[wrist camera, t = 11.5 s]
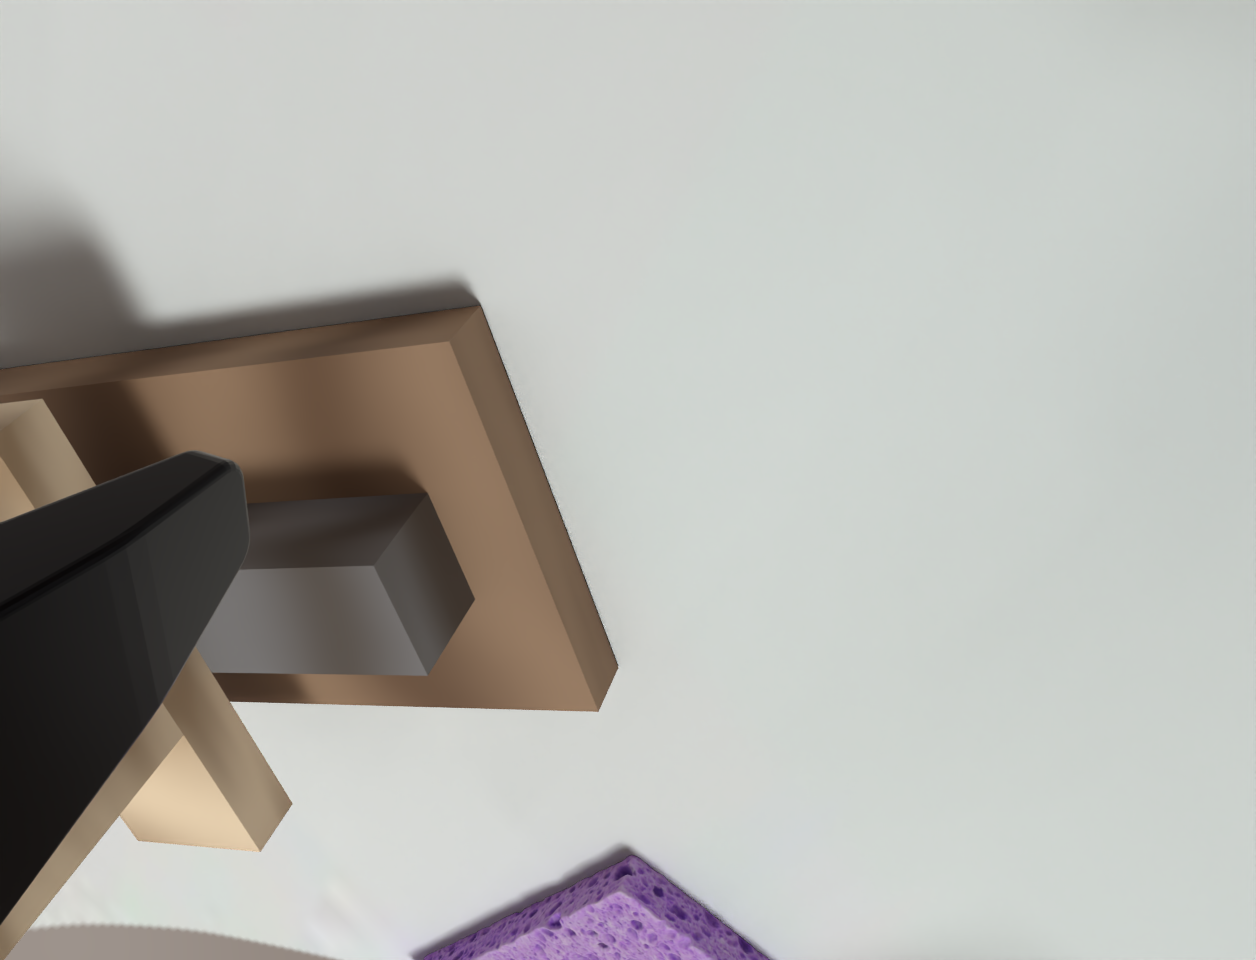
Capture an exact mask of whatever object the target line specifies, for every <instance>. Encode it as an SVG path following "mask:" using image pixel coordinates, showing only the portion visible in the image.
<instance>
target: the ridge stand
mask: <svg viewBox="0 0 1256 960" xmlns="http://www.w3.org/2000/svg"><path fill="white" fill-rule="evenodd" d="M36 399H43V400H44V402H45V404H46V405H47V407H48V409H49V410H50V412H51V413H52V415H53V417H54V418H55V420H56V422H57V423H58V425H59V426H60V428H61V430H62V431H63V433H64V434H65V436H66V438H67V439H68V441H69V443H70V444H71V446H72V447H73V449H74V451H75V452H76V454H77V456H78V457H79V459H80V460H81V462H82V464H83V465H84V467H85V468H86V470H87V472H88V473H89V475H90V477H91V478H92V480H93V481H94V483H95V485H99V484H102V483H104V482H107V481H110V480H112V479H115V478H117V477H120V476H123V475H125V474H128V473H130V472H133V471H136V470H138V469H141V468H143V467H146V466H149V465H151V464H154V463H156V462H159V461H162V460H164V459H167V458H169V457H172V456H175V455H177V454H180V453H183V452H186V451H191V450H197V451H203V452H206V453H209V454H213V455H216V456H219V457H223V458H226V459H229V460H232V461H234V462H235V463H237V464H238V465H239V467H240V468H241V470H242V472H243V477H244V484H245V492H246V501H247V509H248V517H249V526H250V545H249V549H248V553H247V555H246V558H245V560H244V562H243V564H242V566H241V568H240V570H239V571H238V573H237V575H236V577H235V578H234V580H233V582H232V583H231V585H230V587H229V589H228V590H227V592H226V594H225V596H224V597H223V599H222V601H221V603H220V604H219V606H218V608H217V610H216V611H215V613H214V615H213V617H212V618H211V620H210V622H209V624H208V625H207V627H206V629H205V631H204V632H203V634H202V636H201V637H200V639H199V641H198V643H197V644H196V646H195V647H196V648H197V650H198V651H199V653H200V655H201V656H202V658H203V660H204V661H205V663H206V664H207V666H208V668H209V669H210V671H211V672H212V674H213V676H214V677H215V679H216V681H217V682H218V684H219V685H220V687H221V689H222V690H223V692H224V694H225V695H226V697H227V698H228V700H229V701H231V702H267V703H303V704H340V705H376V706H413V707H449V708H486V709H522V710H558V711H595V712H598V711H599V709H600V707H601V705H602V702H603V700H604V698H605V696H606V694H607V691H608V689H609V687H610V685H611V683H612V680H613V678H614V676H615V674H616V671H617V669H618V666H617V663H616V660H615V658H614V655H613V653H612V650H611V647H610V645H609V642H608V639H607V637H606V634H605V632H604V629H603V626H602V624H601V621H600V618H599V616H598V613H597V611H596V608H595V605H594V603H593V600H592V597H591V595H590V592H589V590H588V587H587V584H586V582H585V579H584V576H583V574H582V571H581V569H580V566H579V563H578V561H577V558H576V555H575V553H574V550H573V548H572V545H571V542H570V540H569V537H568V534H567V532H566V529H565V527H564V524H563V521H562V519H561V516H560V513H559V511H558V508H557V506H556V503H555V500H554V498H553V495H552V492H551V490H550V487H549V485H548V482H547V479H546V477H545V474H544V471H543V469H542V466H541V464H540V461H539V458H538V456H537V453H536V450H535V448H534V445H533V443H532V440H531V437H530V435H529V432H528V429H527V427H526V424H525V422H524V419H523V416H522V414H521V411H520V408H519V406H518V403H517V401H516V398H515V395H514V393H513V390H512V387H511V385H510V382H509V380H508V377H507V374H506V372H505V369H504V366H503V364H502V361H501V359H500V356H499V353H498V351H497V348H496V345H495V343H494V340H493V338H492V335H491V332H490V330H489V327H488V324H487V322H486V319H485V317H484V314H483V311H482V309H481V306H473V307H465V308H458V309H450V310H443V311H435V312H428V313H420V314H413V315H405V316H398V317H390V318H383V319H375V320H368V321H360V322H353V323H345V324H337V325H330V326H322V327H315V328H307V329H300V330H292V331H285V332H277V333H270V334H262V335H255V336H247V337H240V338H232V339H225V340H217V341H210V342H202V343H195V344H187V345H179V346H172V347H164V348H157V349H149V350H142V351H134V352H127V353H119V354H112V355H104V356H97V357H89V358H82V359H74V360H67V361H59V362H52V363H44V364H37V365H29V366H21V367H14V368H6V369H0V404H2V403H10V402H19V401H27V400H36Z"/></svg>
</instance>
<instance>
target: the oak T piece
mask: <svg viewBox="0 0 1256 960" xmlns="http://www.w3.org/2000/svg"><path fill="white" fill-rule="evenodd" d="M94 486H96V485H95V483H94V481H93V480H92V478H91V477H90V475H89V473H88V472H87V470H86V468H85V467H84V465H83V464H82V462H81V460H80V459H79V457H78V456H77V454H76V452H75V451H74V449H73V447H72V446H71V444H70V443H69V441H68V439H67V438H66V436H65V434H64V433H63V431H62V430H61V428H60V426H59V425H58V423H57V422H56V420H55V418H54V417H53V415H52V413H51V412H50V410H49V409H48V407H47V405H46V404H45V402H44V400H43V399H36V400H27V401H19V402H10V403H2V404H0V522H3V521H5V520H8V519H10V518H13V517H16V516H18V515H21V514H23V513H26V512H29V511H31V510H34V509H36V508H39V507H42V506H44V505H47V504H50V503H52V502H55V501H57V500H60V499H63V498H65V497H68V496H70V495H73V494H76V493H78V492H81V491H83V490H86V489H89V488H91V487H94ZM291 805H292V802H291V800H290V799H289V797H288V796H287V794H286V792H285V791H284V789H283V787H282V786H281V784H280V783H279V781H278V779H277V778H276V776H275V774H274V773H273V771H272V770H271V768H270V766H269V765H268V763H267V762H266V760H265V758H264V757H263V755H262V753H261V752H260V750H259V749H258V747H257V745H256V744H255V742H254V740H253V739H252V737H251V736H250V734H249V732H248V731H247V729H246V728H245V726H244V724H243V723H242V721H241V719H240V718H239V716H238V715H237V713H236V711H235V710H234V708H233V706H232V705H231V703H230V702H229V700H228V698H227V697H226V695H225V694H224V692H223V690H222V689H221V687H220V685H219V684H218V682H217V681H216V679H215V677H214V676H213V674H212V672H211V671H210V669H209V668H208V666H207V664H206V663H205V661H204V660H203V658H202V656H201V655H200V653H199V651H198V650H197V648H196V647H195V648H194V650H193V651H192V653H191V655H190V657H189V658H188V660H187V662H186V664H185V665H184V667H183V669H182V671H181V672H180V674H179V676H178V678H177V679H176V681H175V683H174V684H173V686H172V688H171V689H170V691H169V693H168V694H167V696H166V697H165V699H164V701H163V702H162V704H161V706H160V707H159V709H158V710H157V711H156V713H155V714H154V716H153V717H152V719H151V720H150V722H149V723H148V724H147V726H146V727H145V729H144V730H143V732H142V733H141V734H140V736H139V737H138V738H137V740H136V741H135V742H134V744H133V745H132V747H131V748H130V749H129V751H128V752H127V753H126V755H125V756H124V757H123V759H122V760H121V762H120V763H119V764H118V766H117V767H116V768H115V770H114V771H113V772H112V774H111V775H110V777H109V778H108V779H107V781H106V782H105V783H104V785H103V786H102V788H101V789H100V790H99V792H98V793H97V794H96V796H95V797H94V798H93V800H92V801H91V803H90V804H89V805H88V807H87V808H86V809H85V811H84V812H83V813H82V815H81V816H80V818H79V819H78V820H77V822H76V823H75V824H74V826H73V827H72V828H71V830H70V831H69V833H68V834H67V835H66V837H65V838H64V839H63V841H62V842H61V844H60V845H59V846H58V848H57V849H56V850H55V852H54V853H53V854H52V856H51V857H50V859H49V860H48V861H47V863H46V864H45V865H44V867H43V868H42V869H41V871H40V872H39V874H38V875H37V876H36V878H35V879H34V880H33V882H32V883H31V885H30V886H29V887H28V889H27V890H26V891H25V893H24V894H23V895H22V897H21V898H20V900H19V901H18V902H17V904H16V905H15V906H14V908H13V909H12V910H11V912H10V913H9V915H8V916H7V917H6V919H5V920H4V921H3V923H2V924H1V925H0V960H4V959H5V958H6V956H7V955H8V954H9V953H10V951H11V950H12V949H13V948H14V946H15V945H16V944H17V943H18V941H19V940H20V939H21V938H22V936H23V935H24V934H25V933H26V931H27V930H28V929H29V928H30V926H31V925H32V924H33V923H34V921H35V920H36V919H37V918H38V916H39V915H40V914H41V913H42V911H43V910H44V909H45V908H46V906H47V905H48V904H49V903H50V901H51V900H52V899H53V898H54V896H55V895H56V894H57V893H58V891H59V890H60V889H61V888H62V886H63V885H64V884H65V883H66V881H67V880H68V879H69V878H70V876H71V875H72V874H73V873H74V871H75V870H76V869H77V868H78V866H79V865H80V864H81V863H82V861H83V860H84V859H85V858H86V856H87V855H88V854H89V853H90V851H91V850H92V849H93V848H94V846H95V845H96V844H97V843H98V841H99V840H100V839H101V838H102V836H103V835H104V834H105V833H106V831H107V830H108V829H109V828H110V826H111V825H112V824H113V823H114V821H115V820H116V819H117V818H118V816H119V815H120V817H121V818H122V819H123V821H124V822H125V823H126V825H127V826H128V828H129V829H130V830H131V832H132V833H133V834H134V836H135V837H136V839H137V840H138V841H146V842H157V843H168V844H179V845H190V846H201V847H212V848H223V849H234V850H245V851H256V852H261V850H262V849H263V847H264V846H265V844H266V843H267V841H268V840H269V838H270V837H271V835H272V834H273V832H274V831H275V829H276V828H277V826H278V825H279V823H280V822H281V820H282V819H283V817H284V816H285V814H286V813H287V811H288V810H289V808H290V807H291Z"/></svg>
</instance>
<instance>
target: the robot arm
mask: <svg viewBox="0 0 1256 960" xmlns="http://www.w3.org/2000/svg"><path fill="white" fill-rule="evenodd" d="M249 545H250V526H249V517H248V509H247V501H246V492H245V484H244V477H243V472H242V470H241V468H240V467H239V465H238V464H237V463H235V462H234V461H232V460H229V459H226V458H223V457H219V456H216V455H213V454H209V453H206V452H203V451H197V450H191V451H186V452H183V453H180V454H177V455H175V456H172V457H169V458H167V459H164V460H162V461H159V462H156V463H154V464H151V465H149V466H146V467H143V468H141V469H138V470H136V471H133V472H130V473H128V474H125V475H123V476H120V477H117V478H115V479H112V480H110V481H107V482H104V483H102V484H99V485H96V486H94V487H91V488H89V489H86V490H83V491H81V492H78V493H76V494H73V495H70V496H68V497H65V498H63V499H60V500H57V501H55V502H52V503H50V504H47V505H44V506H42V507H39V508H36V509H34V510H31V511H29V512H26V513H23V514H21V515H18V516H16V517H13V518H10V519H8V520H5V521H3V522H0V925H1V924H2V923H3V921H4V920H5V919H6V917H7V916H8V915H9V913H10V912H11V910H12V909H13V908H14V906H15V905H16V904H17V902H18V901H19V900H20V898H21V897H22V895H23V894H24V893H25V891H26V890H27V889H28V887H29V886H30V885H31V883H32V882H33V880H34V879H35V878H36V876H37V875H38V874H39V872H40V871H41V869H42V868H43V867H44V865H45V864H46V863H47V861H48V860H49V859H50V857H51V856H52V854H53V853H54V852H55V850H56V849H57V848H58V846H59V845H60V844H61V842H62V841H63V839H64V838H65V837H66V835H67V834H68V833H69V831H70V830H71V828H72V827H73V826H74V824H75V823H76V822H77V820H78V819H79V818H80V816H81V815H82V813H83V812H84V811H85V809H86V808H87V807H88V805H89V804H90V803H91V801H92V800H93V798H94V797H95V796H96V794H97V793H98V792H99V790H100V789H101V788H102V786H103V785H104V783H105V782H106V781H107V779H108V778H109V777H110V775H111V774H112V772H113V771H114V770H115V768H116V767H117V766H118V764H119V763H120V762H121V760H122V759H123V757H124V756H125V755H126V753H127V752H128V751H129V749H130V748H131V747H132V745H133V744H134V742H135V741H136V740H137V738H138V737H139V736H140V734H141V733H142V732H143V730H144V729H145V727H146V726H147V724H148V723H149V722H150V720H151V719H152V717H153V716H154V714H155V713H156V711H157V710H158V709H159V707H160V706H161V704H162V702H163V701H164V699H165V697H166V696H167V694H168V693H169V691H170V689H171V688H172V686H173V684H174V683H175V681H176V679H177V678H178V676H179V674H180V672H181V671H182V669H183V667H184V665H185V664H186V662H187V660H188V658H189V657H190V655H191V653H192V651H193V650H194V648H195V646H196V644H197V643H198V641H199V639H200V637H201V636H202V634H203V632H204V631H205V629H206V627H207V625H208V624H209V622H210V620H211V618H212V617H213V615H214V613H215V611H216V610H217V608H218V606H219V604H220V603H221V601H222V599H223V597H224V596H225V594H226V592H227V590H228V589H229V587H230V585H231V583H232V582H233V580H234V578H235V577H236V575H237V573H238V571H239V570H240V568H241V566H242V564H243V562H244V560H245V558H246V555H247V553H248V549H249Z"/></svg>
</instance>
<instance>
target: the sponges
mask: <svg viewBox="0 0 1256 960" xmlns="http://www.w3.org/2000/svg"><path fill="white" fill-rule="evenodd" d="M424 960H769V959H768V958H767V957H766V956H764V955H763V954H761V953H760V952H758V951H757V950H756V949H755V948H753V947H752V946H751V945H750V944H748V943H747V942H746V941H744V940H743V939H742V938H741V937H740V936H738V935H737V934H736V933H734V932H733V931H732V930H731V929H730V928H729V927H727V926H726V925H724V924H723V923H722V922H721V921H720V920H718V919H717V918H715V917H714V916H713V915H712V914H710V913H709V912H708V911H707V910H706V909H704V908H703V907H702V906H701V905H699V904H698V903H697V902H695V901H694V900H693V899H691V898H690V897H689V896H687V895H686V894H685V893H684V892H682V891H681V890H680V889H678V888H677V887H676V886H674V885H673V884H672V883H670V882H669V881H668V880H667V879H666V878H665V877H664V876H663V875H661V874H660V873H658V872H656V871H654V870H653V869H652V868H651V867H650V866H648V865H647V864H646V863H645V862H644V861H642V860H641V859H640V858H638V857H636V856H633V855H630V856H628V857H627V858H626V859H625V860H623V861H622V862H619V863H617V864H615V865H613V866H610V867H609V868H608V869H604V870H601V871H599V872H597V873H596V874H594V875H593V876H592V877H587V878H585V879H583V880H581V881H579V882H578V883H576V884H574V885H573V886H572V887H570V888H566V889H565V890H563V891H560V892H558V893H556V894H554V895H551V896H549V897H547V898H545V900H544V901H542V902H536V903H534V904H533V905H531V906H529V907H528V908H525V909H524V910H523V912H522V913H514V914H512V915H510V916H507V917H505V918H503V919H501V920H500V921H498V922H496V923H493V924H492V925H491V926H490V927H486V928H483V929H481V930H479V931H478V932H477V933H475V934H472V935H470V936H467V937H465V938H463V939H460V940H458V941H457V942H455V943H453V944H451V945H449V946H446V947H444V948H441V949H439V950H437V951H435V952H433V953H431V954H428V955H427V956H425V957H424Z"/></svg>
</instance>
